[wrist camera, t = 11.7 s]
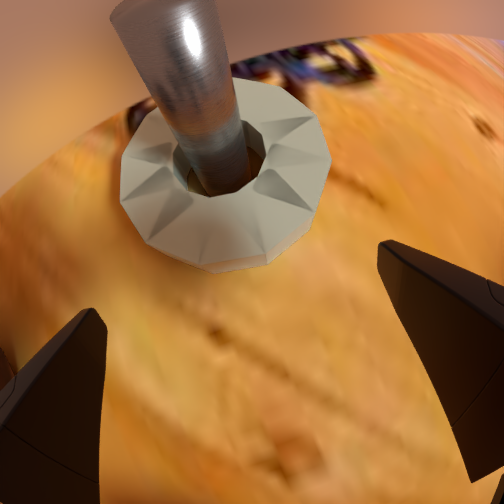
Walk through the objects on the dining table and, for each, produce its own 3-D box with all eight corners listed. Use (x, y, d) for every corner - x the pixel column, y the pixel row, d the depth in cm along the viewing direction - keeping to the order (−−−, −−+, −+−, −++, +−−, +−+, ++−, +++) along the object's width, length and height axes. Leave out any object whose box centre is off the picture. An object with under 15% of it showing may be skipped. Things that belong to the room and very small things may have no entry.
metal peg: (237, 208, 18) (167, 23, 5) (193, 189, 18) (90, 27, 6) (260, 166, 18) (231, -25, 5) (217, 150, 19) (154, -21, 6)
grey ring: (208, 312, 16) (193, 311, 14) (114, 177, 19) (94, 158, 16) (358, 188, 17) (371, 165, 14) (242, 84, 20) (237, 57, 17)
